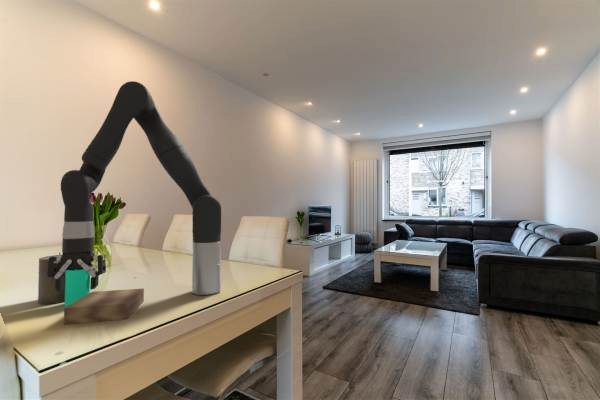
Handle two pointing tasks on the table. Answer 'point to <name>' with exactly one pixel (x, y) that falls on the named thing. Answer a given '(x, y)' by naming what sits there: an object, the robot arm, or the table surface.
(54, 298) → the pillar candle
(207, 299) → the table surface
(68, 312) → the walnut stand
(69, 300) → the teal green tall block
